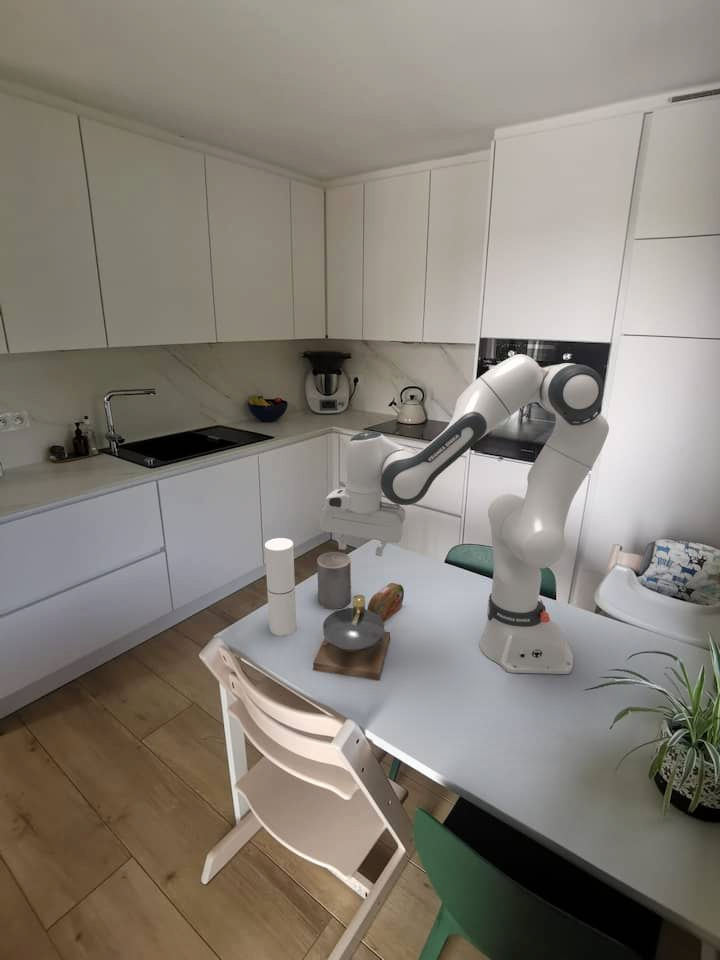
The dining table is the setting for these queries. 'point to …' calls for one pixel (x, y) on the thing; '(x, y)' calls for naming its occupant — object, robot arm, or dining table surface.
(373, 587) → the dining table surface
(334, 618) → the dark grey round piece
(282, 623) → the cylindrical container
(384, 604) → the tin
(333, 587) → the pillar candle
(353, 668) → the brown square flat block
